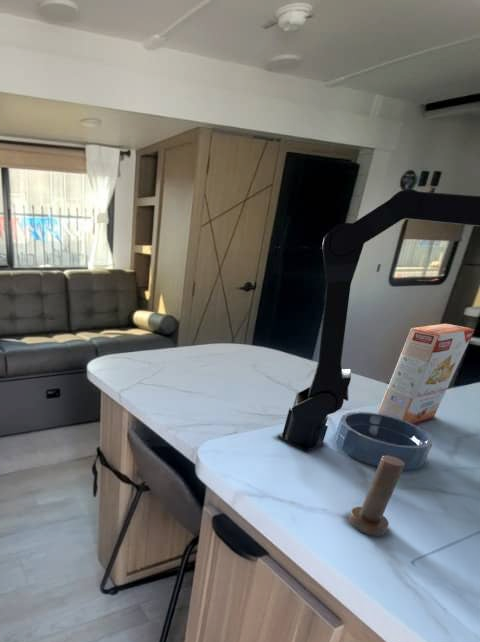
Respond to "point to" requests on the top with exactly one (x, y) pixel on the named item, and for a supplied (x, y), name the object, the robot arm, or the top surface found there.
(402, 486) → the top surface
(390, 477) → the brown flanged rod
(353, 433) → the bowl
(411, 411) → the cracker box
